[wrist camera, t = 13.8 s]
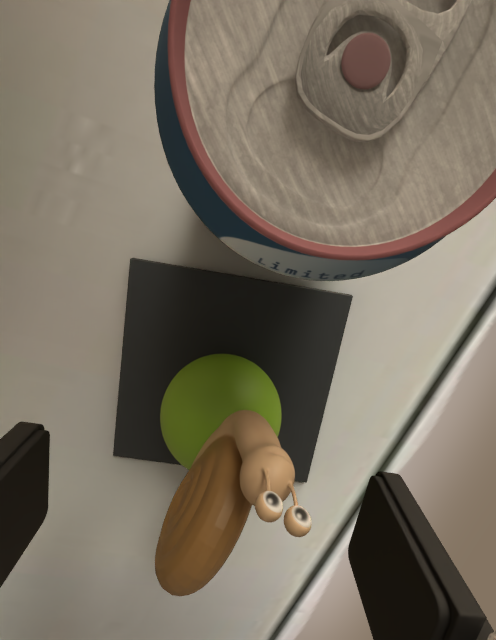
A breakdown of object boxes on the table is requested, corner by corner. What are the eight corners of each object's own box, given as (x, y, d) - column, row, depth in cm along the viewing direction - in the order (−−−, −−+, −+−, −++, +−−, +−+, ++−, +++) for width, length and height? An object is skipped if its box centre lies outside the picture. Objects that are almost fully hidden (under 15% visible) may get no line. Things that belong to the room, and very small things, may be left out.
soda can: (305, 276, 18) (418, 370, 6) (181, 201, 17) (43, 152, 5) (387, 144, 16) (733, -51, 5) (256, 54, 15) (292, -458, 4)
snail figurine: (306, 356, 19) (408, 573, 7) (241, 449, 20) (237, 759, 8) (216, 302, 18) (163, 446, 6) (154, 402, 19) (19, 673, 8)
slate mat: (132, 257, 18) (130, 258, 17) (351, 294, 18) (353, 295, 18) (114, 452, 20) (113, 455, 20) (305, 479, 21) (306, 482, 21)
